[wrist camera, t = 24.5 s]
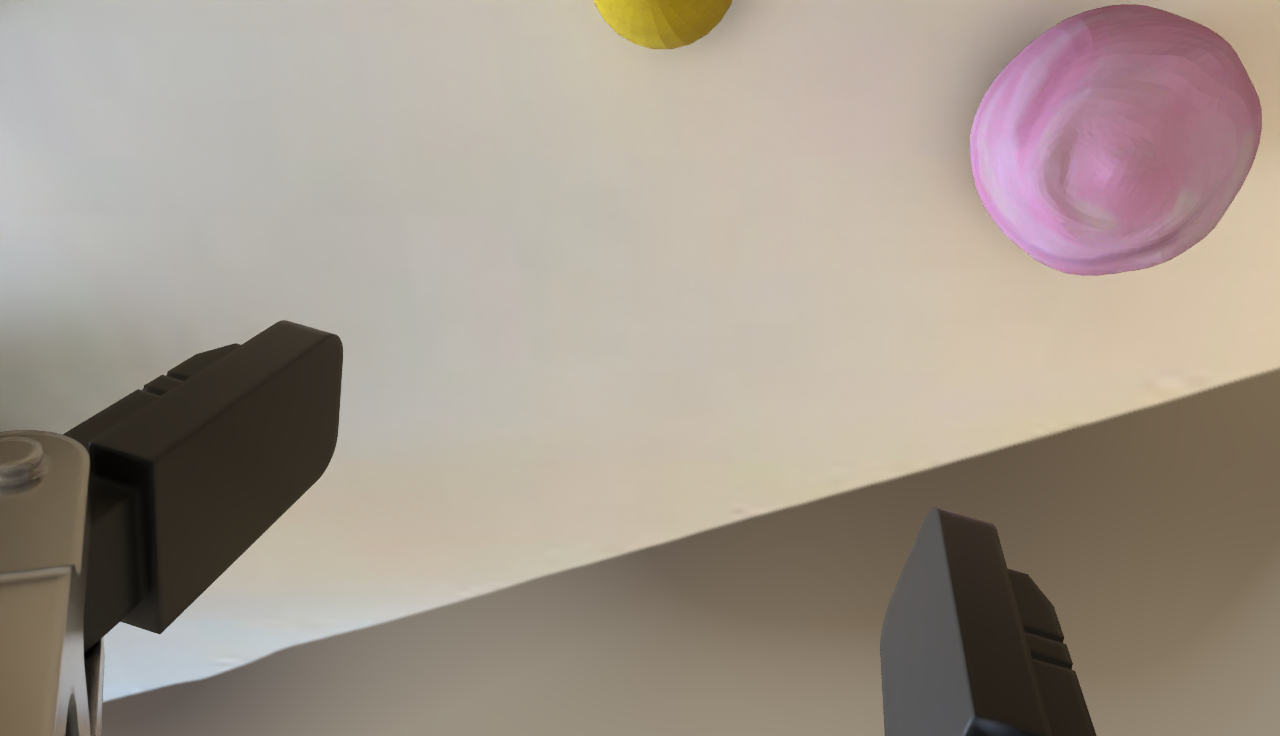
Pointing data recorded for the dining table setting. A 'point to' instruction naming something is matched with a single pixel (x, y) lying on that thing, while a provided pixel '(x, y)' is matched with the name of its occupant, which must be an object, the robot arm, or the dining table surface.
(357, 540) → the dining table surface
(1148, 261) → the cupcake
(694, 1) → the lemon
